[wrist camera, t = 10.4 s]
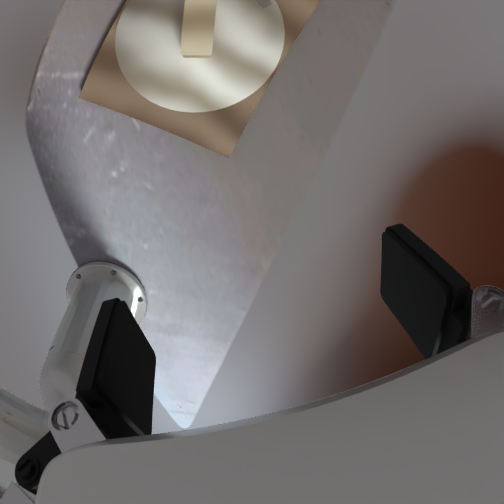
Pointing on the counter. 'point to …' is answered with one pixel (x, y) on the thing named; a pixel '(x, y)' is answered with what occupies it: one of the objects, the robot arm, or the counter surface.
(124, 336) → the robot arm
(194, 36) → the beige block with rod
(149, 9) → the square board with disc
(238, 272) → the counter surface
